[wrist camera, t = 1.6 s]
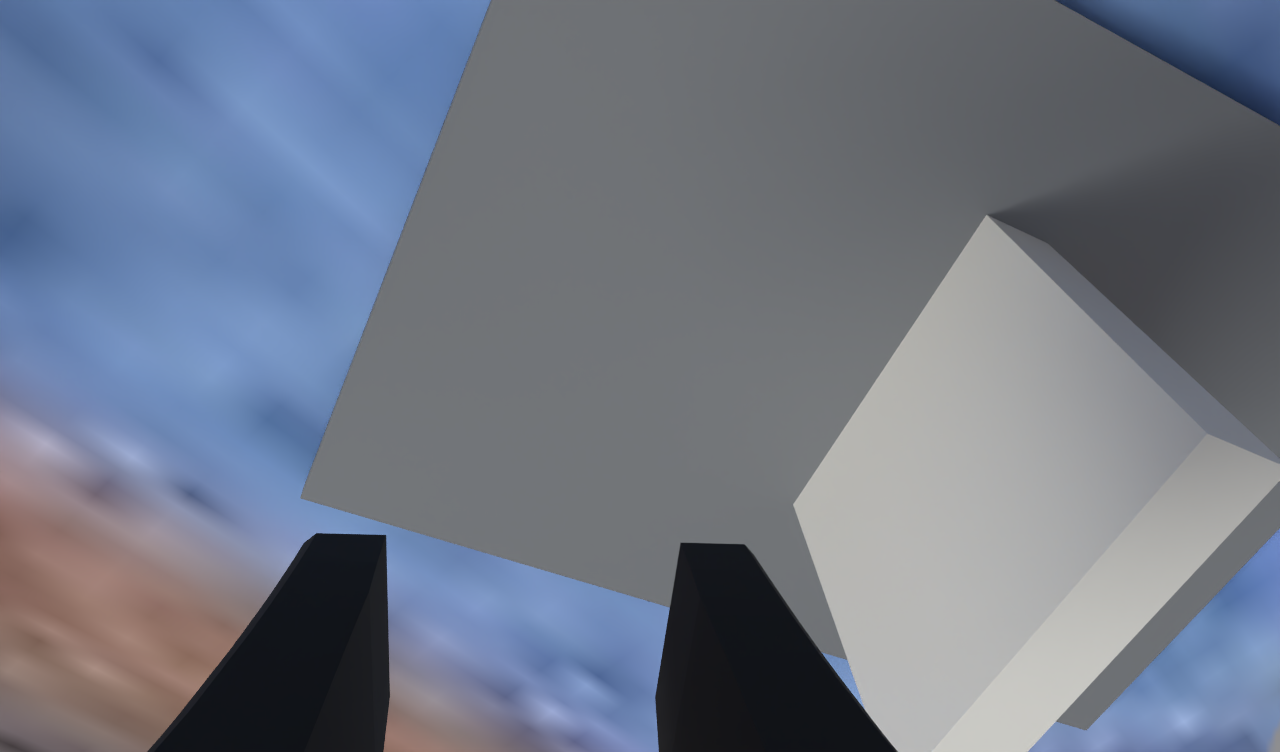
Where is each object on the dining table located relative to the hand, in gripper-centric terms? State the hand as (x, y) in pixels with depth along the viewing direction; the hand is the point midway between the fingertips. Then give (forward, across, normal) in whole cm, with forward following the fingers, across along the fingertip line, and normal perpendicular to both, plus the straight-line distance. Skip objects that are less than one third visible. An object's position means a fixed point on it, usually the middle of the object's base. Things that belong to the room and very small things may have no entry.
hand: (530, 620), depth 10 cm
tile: (+9, -8, +3) cm, 12 cm away
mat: (+10, -8, +3) cm, 13 cm away
